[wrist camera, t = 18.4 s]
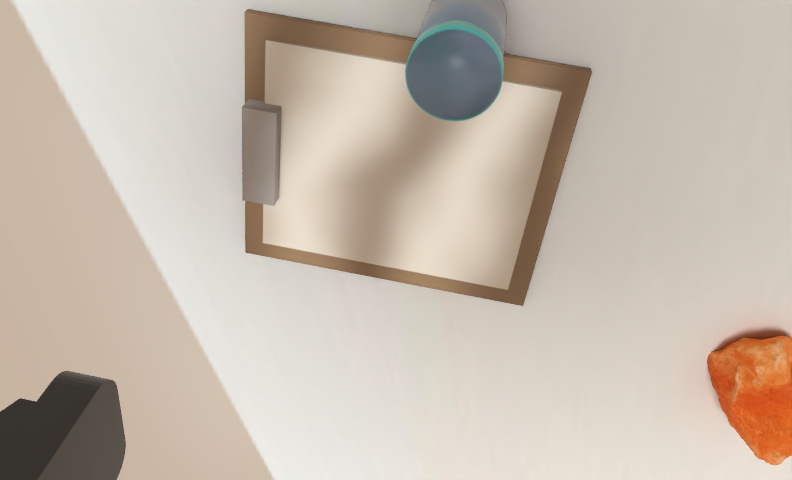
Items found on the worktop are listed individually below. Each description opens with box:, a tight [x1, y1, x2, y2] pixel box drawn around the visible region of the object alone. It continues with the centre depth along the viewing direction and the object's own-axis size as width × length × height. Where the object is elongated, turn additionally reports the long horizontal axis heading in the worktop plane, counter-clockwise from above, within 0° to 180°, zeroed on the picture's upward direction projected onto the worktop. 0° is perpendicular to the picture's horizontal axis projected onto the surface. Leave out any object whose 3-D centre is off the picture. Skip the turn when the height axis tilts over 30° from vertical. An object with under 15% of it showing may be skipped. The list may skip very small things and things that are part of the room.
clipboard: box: [242, 10, 592, 306], centre depth 34 cm, size 15×13×1 cm
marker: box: [405, 0, 507, 121], centre depth 27 cm, size 3×3×7 cm
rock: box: [707, 336, 792, 465], centre depth 37 cm, size 12×12×4 cm
